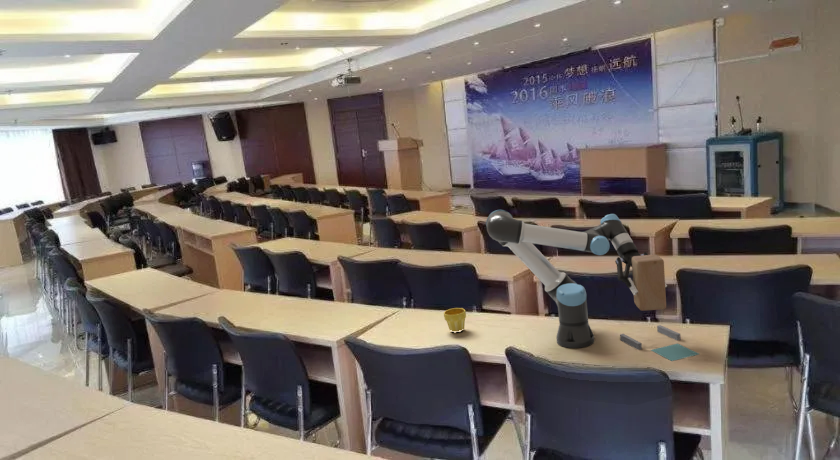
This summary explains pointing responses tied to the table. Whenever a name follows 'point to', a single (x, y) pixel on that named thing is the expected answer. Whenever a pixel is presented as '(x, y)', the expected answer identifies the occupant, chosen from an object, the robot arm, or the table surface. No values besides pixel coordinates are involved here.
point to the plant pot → (455, 318)
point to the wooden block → (649, 282)
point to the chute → (660, 328)
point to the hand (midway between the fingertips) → (650, 290)
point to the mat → (675, 352)
